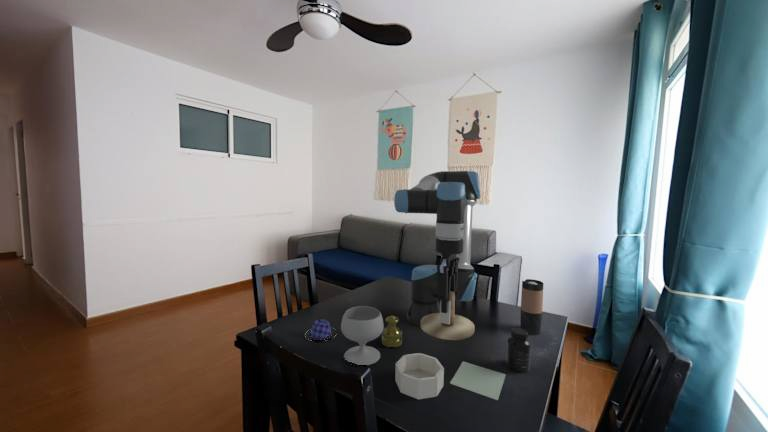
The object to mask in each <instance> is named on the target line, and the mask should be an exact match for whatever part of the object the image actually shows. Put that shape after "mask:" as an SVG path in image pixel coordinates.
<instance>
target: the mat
mask: <svg viewBox="0 0 768 432" xmlns="http://www.w3.org/2000/svg"><path fill="white" fill-rule="evenodd" d="M506 376H507V374H505V373H502V372H500V371H496V370H492V369H490V368H486V367H483V366H479V365H476V364H473V363H470V362H467V361H462V362H461V363H460V366H459V367H458V369H457V371H456V372H455V374H454V375H453V377H452V378H451V380H450V382H449V384H451V385H453V386H455V387H459V388H462V389H464V390H468V391H470V392H473V393H476V394H478V395H481V396H485V397H487V398H490V399H492V400H495V401H499V397H500V394H501V392H502V388H503V385H504V383H505V379H506Z"/></svg>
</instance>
